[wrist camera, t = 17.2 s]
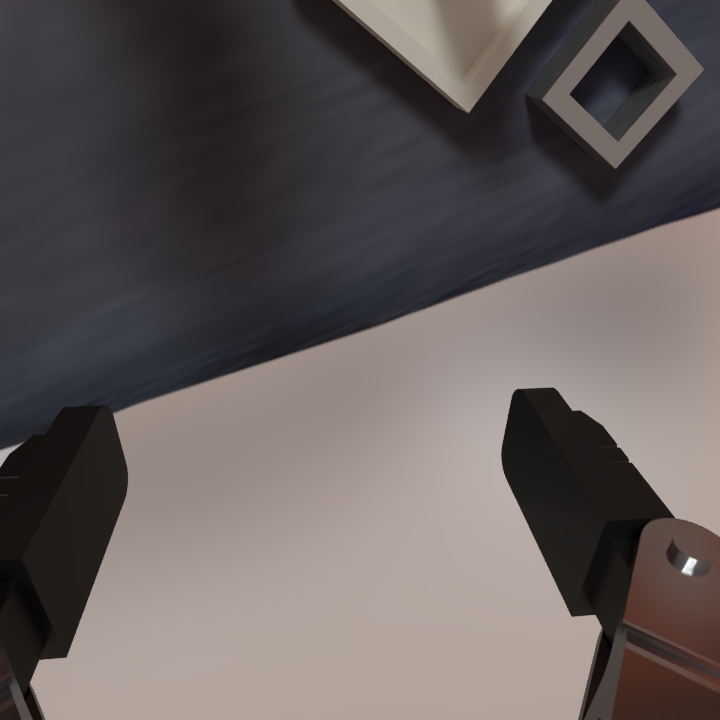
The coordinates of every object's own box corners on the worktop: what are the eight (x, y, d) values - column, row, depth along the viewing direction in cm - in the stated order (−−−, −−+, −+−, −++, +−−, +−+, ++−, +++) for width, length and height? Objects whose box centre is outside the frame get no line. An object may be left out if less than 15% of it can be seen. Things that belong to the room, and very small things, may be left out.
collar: (524, 94, 42) (542, 99, 39) (606, -12, 39) (632, -16, 36) (594, 160, 45) (615, 168, 42) (674, 66, 42) (704, 69, 39)
